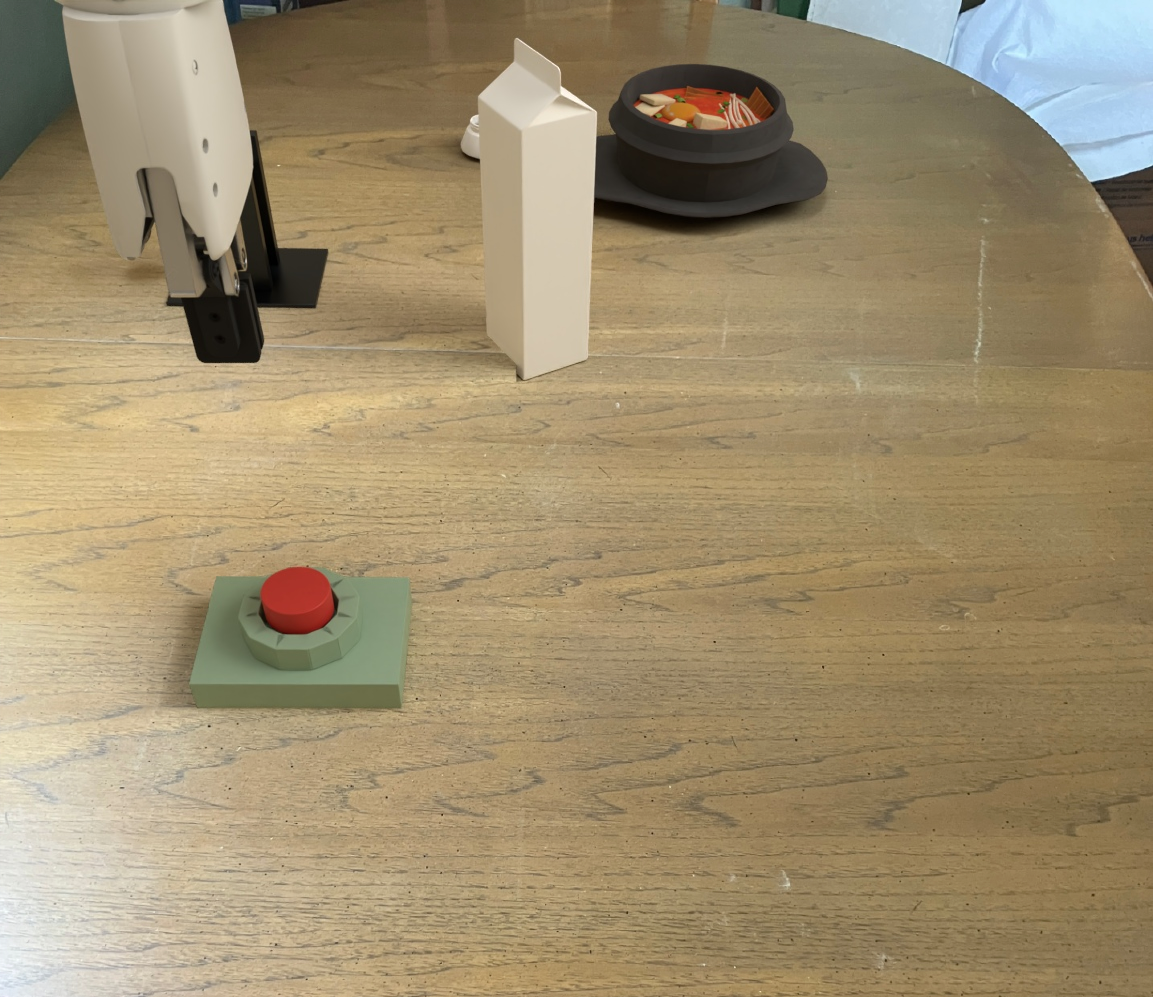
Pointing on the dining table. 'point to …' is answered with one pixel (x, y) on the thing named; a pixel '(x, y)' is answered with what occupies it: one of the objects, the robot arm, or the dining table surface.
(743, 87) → the casserole
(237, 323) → the robot arm
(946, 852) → the dining table surface
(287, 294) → the bracket
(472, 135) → the lidless jar
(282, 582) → the button
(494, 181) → the milk
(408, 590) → the button block
